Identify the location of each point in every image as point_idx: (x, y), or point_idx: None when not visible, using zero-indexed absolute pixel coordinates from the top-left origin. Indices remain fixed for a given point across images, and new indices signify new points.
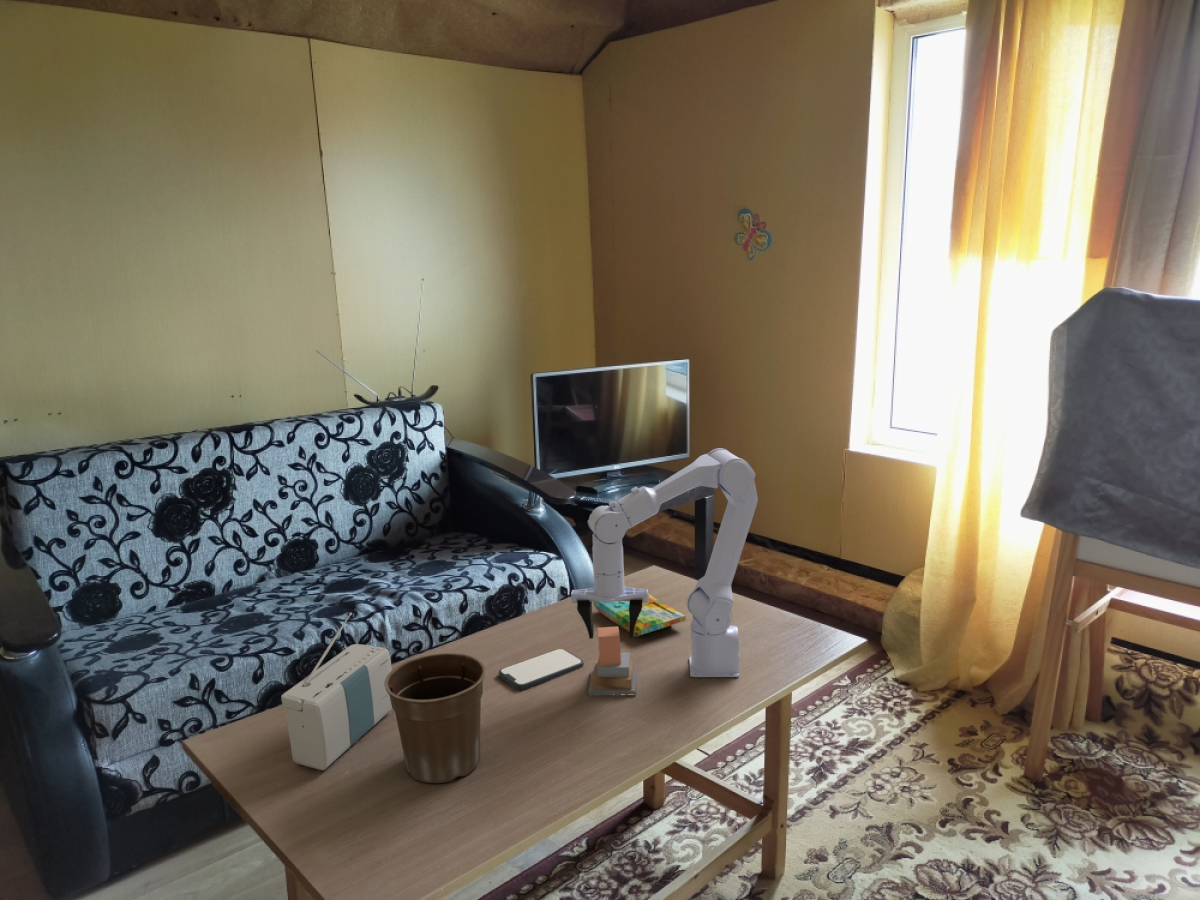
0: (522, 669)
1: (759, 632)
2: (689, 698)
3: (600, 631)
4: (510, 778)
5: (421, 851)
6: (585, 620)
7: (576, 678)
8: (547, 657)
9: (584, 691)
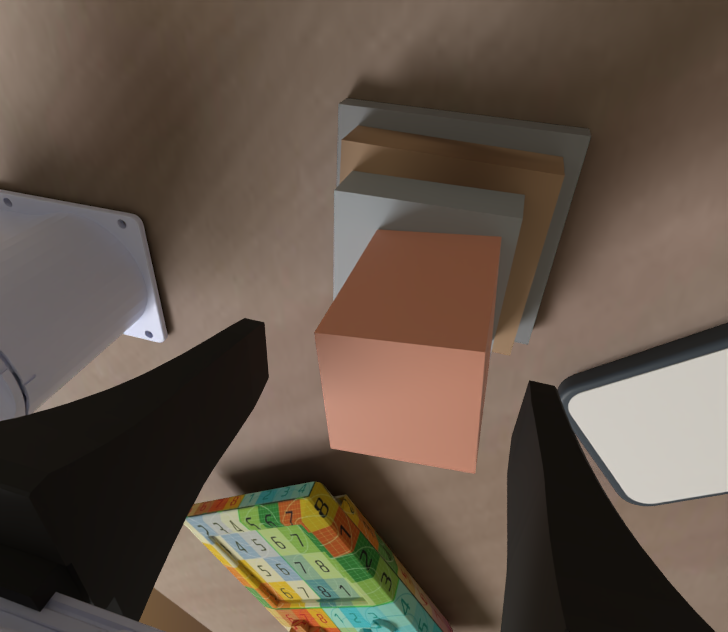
0: None
1: None
2: (117, 46)
3: (459, 423)
4: None
5: None
6: (605, 520)
7: (615, 299)
8: (723, 465)
9: (601, 176)
